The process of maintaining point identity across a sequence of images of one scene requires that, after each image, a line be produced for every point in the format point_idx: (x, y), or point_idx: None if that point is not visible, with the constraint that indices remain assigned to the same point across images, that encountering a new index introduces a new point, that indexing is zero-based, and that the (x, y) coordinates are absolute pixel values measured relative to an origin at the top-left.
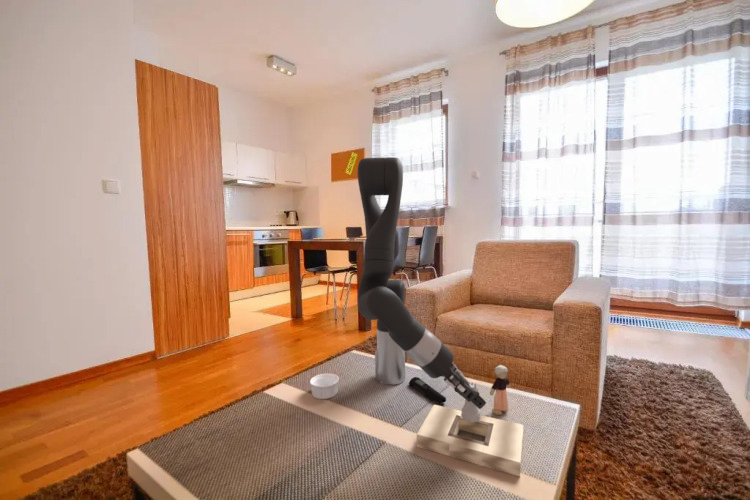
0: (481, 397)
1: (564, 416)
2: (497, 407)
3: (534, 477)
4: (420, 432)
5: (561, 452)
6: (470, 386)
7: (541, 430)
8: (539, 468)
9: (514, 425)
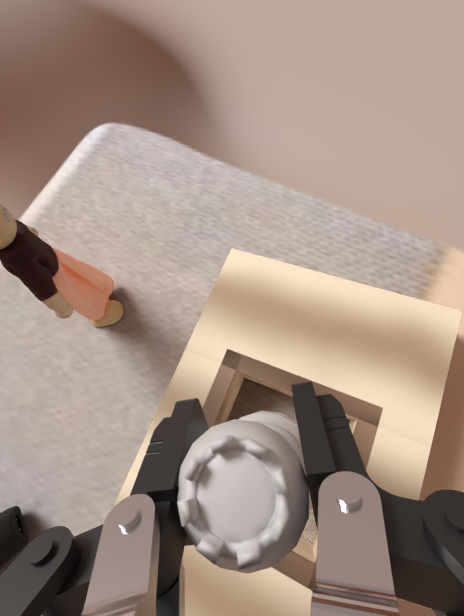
0: (303, 408)
1: (147, 147)
2: (101, 307)
3: (432, 286)
4: None
5: (303, 192)
6: (340, 548)
7: (207, 214)
8: (385, 262)
9: (235, 277)
